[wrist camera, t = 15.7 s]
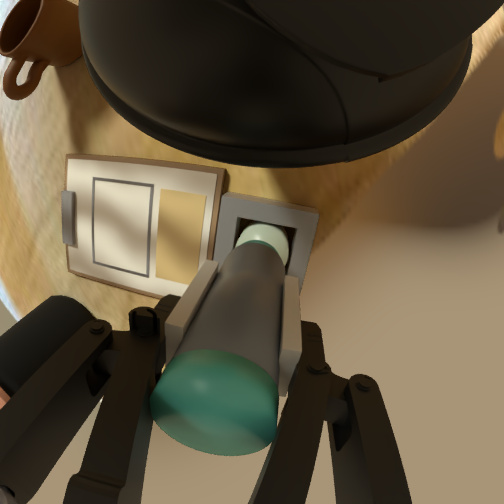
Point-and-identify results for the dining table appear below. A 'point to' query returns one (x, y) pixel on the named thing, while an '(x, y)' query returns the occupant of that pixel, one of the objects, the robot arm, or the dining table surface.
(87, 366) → the robot arm
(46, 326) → the coffee jar
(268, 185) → the dining table surface
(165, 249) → the board
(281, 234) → the button
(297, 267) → the button housing
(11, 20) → the mug
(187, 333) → the marker
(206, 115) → the water bottle
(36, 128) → the dining table surface
